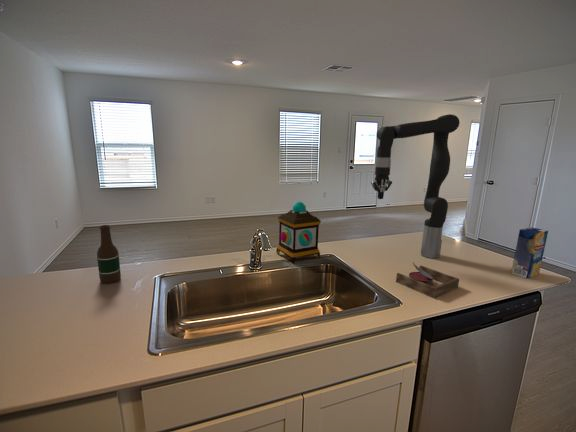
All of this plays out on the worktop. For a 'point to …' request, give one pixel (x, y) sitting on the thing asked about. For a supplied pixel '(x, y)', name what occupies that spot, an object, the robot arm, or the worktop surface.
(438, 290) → the box
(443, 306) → the worktop surface
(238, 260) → the worktop surface
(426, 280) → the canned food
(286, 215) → the decorative lantern
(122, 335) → the worktop surface
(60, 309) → the worktop surface
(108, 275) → the beer bottle
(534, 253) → the beverage box
